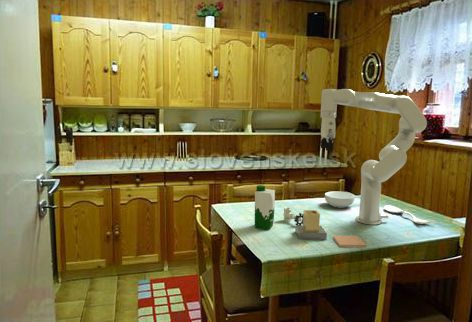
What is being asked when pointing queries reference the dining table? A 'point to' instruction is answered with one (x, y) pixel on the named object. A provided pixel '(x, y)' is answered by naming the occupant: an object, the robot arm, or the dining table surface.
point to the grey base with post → (310, 233)
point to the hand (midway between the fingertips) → (326, 149)
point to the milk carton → (264, 208)
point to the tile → (349, 241)
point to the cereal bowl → (339, 199)
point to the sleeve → (311, 220)
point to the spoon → (397, 210)
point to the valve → (292, 216)
